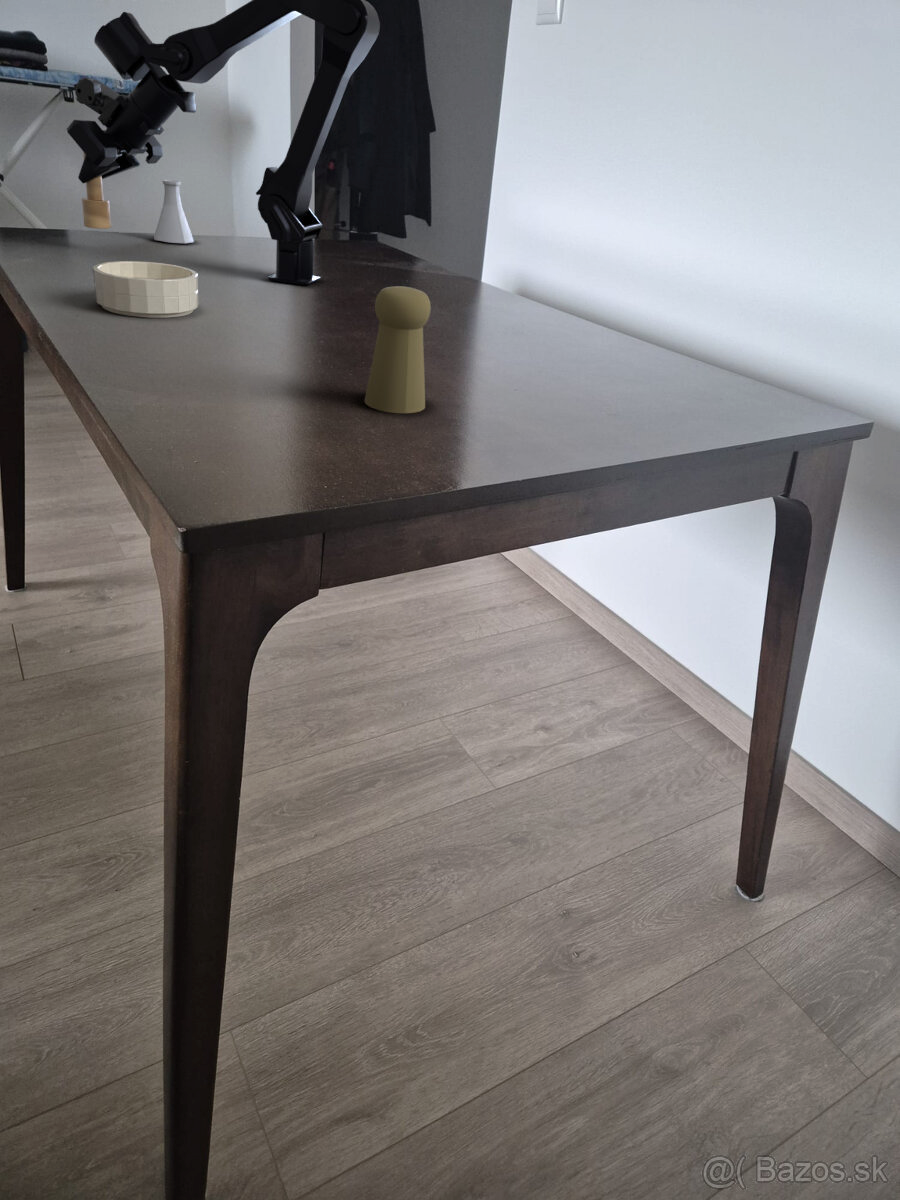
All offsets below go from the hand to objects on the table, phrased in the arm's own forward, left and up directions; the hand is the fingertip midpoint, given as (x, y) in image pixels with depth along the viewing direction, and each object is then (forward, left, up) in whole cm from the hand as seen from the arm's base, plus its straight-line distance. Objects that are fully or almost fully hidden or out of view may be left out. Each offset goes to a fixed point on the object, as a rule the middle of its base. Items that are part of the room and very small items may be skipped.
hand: (85, 180), depth 136 cm
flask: (-20, +4, -10) cm, 23 cm away
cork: (+55, +64, -10) cm, 85 cm away
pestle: (0, +1, -7) cm, 7 cm away
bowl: (+32, +26, -10) cm, 43 cm away
